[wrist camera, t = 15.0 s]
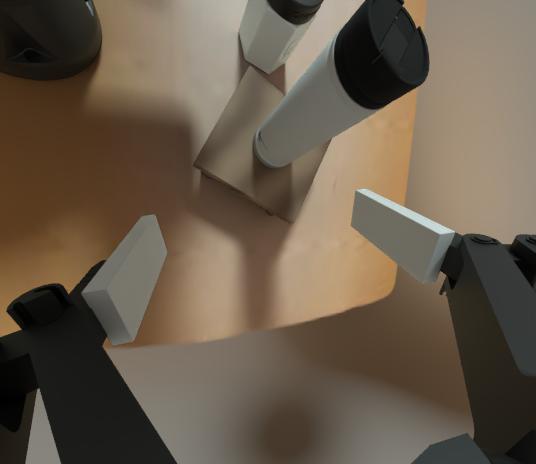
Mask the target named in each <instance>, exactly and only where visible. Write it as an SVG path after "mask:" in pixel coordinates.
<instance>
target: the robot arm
mask: <svg viewBox="0 0 536 464" xmlns="http://www.w3.org/2000/svg"><path fill="white" fill-rule="evenodd" d="M101 38H102V32H101V25H100V20H99V17H98V14H97V11H96V9H95V6H94V3H93V0H0V71H1V72H4V73H7V74H10V75H13V76H17V77H22V78H27V79H35V80H54V79H61V78H65V77H69V76H72V75H74V74H77V73H79V72H80V71H82V70H84V69H85V68H86V67H88V66H89V65H90V64H91V63H92V61H93V60H94V59H95V57H96V56H97V54H98V51H99V49H100V45H101ZM351 226H352V227H353V228H354V229H355V230H357V231H358V232H359V233H360V234H361V235H363V236H364V237H365V238H366V239H368V240H369V241H370V242H371V243H373V244H374V245H375V246H376V247H377V248H379V249H380V250H381V251H382V252H384V253H385V254H386V255H387V256H389V257H390V258H391V259H392V260H393V261H395V262H396V263H397V264H398V265H400V266H401V267H402V268H403V269H405V270H406V271H407V272H408V273H409V274H411V275H412V276H413V277H414V278H416V279H417V280H418V281H420V282H421V283H422V284H425V283H429V282H435V281H436V280H437V277H438V275H439V272H440V271H441V272H443V273H444V274H446V278H445V280H444V283H443V285H442V288H441V290H440V293H439V294H440V295H442V293H443V292H445V291H446V296H447V298H448V303H449V308H450V313H451V317H452V322H453V327H454V332H455V336H456V341H457V346H458V351H459V355H460V360H461V365H462V369H463V374H464V379H465V384H466V388H467V393H468V398H469V403H470V408H471V412H472V417H473V422H474V438H473V440H472V438H471V437H470V436H469V435H468V433H466V434H463V435H460V436H457V437H454V438H451V439H448V440H445V441H442V442H438V443H435V444H433V445H430V446H429V447H428V448H427V449H426V450H425V451H424V452H423V453H422V454H421V455H420V456H419V457H418V458H417V459H416V460H414V462H412V463H411V464H536V235H526V234H525V235H524V234H523V235H517V236H516V238H515V239H514V241H513V243H512V244H509V245H508V244H501V243H500V242H499V241H498V240H496V239H494V238H491V237H488V236H485V235H480V234H465V235H463V236H462V235H460V234H458V233H456V232H455V231H453V230H450V229H448V228H446V227H444V226H442V225H440V224H438V223H436V222H434V221H432V220H430V219H428V218H425V217H423V216H421V215H419V214H417V213H415V212H413V211H411V210H409V209H407V208H405V207H403V206H400V205H398V204H396V203H394V202H392V201H390V200H388V199H386V198H384V197H382V196H380V195H378V194H375V193H373V192H371V191H369V190H367V189H361V190H356V191H355V199H354V206H353V213H352V220H351ZM167 253H168V252H167V249H166V246H165V243H164V240H163V237H162V234H161V231H160V228H159V224H158V221H157V218H156V215H155V214H154V215H146V216H141V218H140V219H139V220H138V221H137V223H136V224H135V225H134V226H133V228H132V229H131V230H130V232H129V233H128V234H127V235H126V237H125V238H124V239H123V240H122V242H121V243H120V244H119V246H118V247H117V248H116V249H115V251H114V252H113V253H112V254H111V256H110V257H109V258H108V260H103V261H101V262H99V263H98V264H96V265H95V266H93V267H92V268H91V269H90V270H89V271H88V273H87V274H86V275H85V277H83V278H82V280H81V281H80V283H78V284H77V285H76V287H75V288H74V289H73V290H72V291H71V293H70V294H68V293H67V291H66V289H65V288H64V286H63V285H61V284H48V285H43V286H40V287H38V288H35V289H32V290H30V291H28V292H26V293H24V294H22V295H21V296H19V297H18V298H16V299H15V300H14V301H13V302H12V303H11V304H10V305H9V306H8V308H7V311H6V312H7V313H8V314H9V315H10V316H11V317H12V318H13V320H14V321H15V322H16V323H17V324H18V325H19V327H20V328H21V329H22V330H19V331H17V332H14V333H11V334H8V335H5V336H3V337H0V464H25V461H26V455H27V449H28V443H29V436H30V430H31V424H32V418H33V412H34V406H35V399H36V393H37V389H38V388H40V392H41V395H42V399H43V402H44V406H45V409H46V413H47V416H48V420H49V423H50V426H51V430H52V433H53V437H54V440H55V444H56V447H57V451H58V454H59V458H60V461H61V464H177V462H176V461H175V459H174V458H173V456H172V455H171V453H170V451H169V450H168V448H167V447H166V445H165V444H164V442H163V440H162V439H161V437H160V436H159V434H158V433H157V431H156V430H155V428H154V426H153V425H152V423H151V422H150V420H149V419H148V417H147V416H146V414H145V412H144V411H143V409H142V408H141V406H140V405H139V403H138V402H137V400H136V398H135V397H134V395H133V394H132V392H131V391H130V389H129V387H128V386H127V384H126V383H125V381H124V380H123V378H122V376H121V375H120V373H119V372H118V370H117V369H116V367H115V366H114V364H113V362H112V361H111V359H110V358H109V356H108V355H107V353H106V351H105V350H104V348H103V347H102V345H103V343H104V341H105V339H106V337H108V339H109V340H110V342H111V344H112V345H113V346H115V345H120V344H125V343H130V342H134V340H135V337H136V335H137V332H138V329H139V327H140V324H141V322H142V319H143V316H144V314H145V311H146V308H147V306H148V303H149V300H150V298H151V295H152V293H153V290H154V287H155V285H156V282H157V279H158V277H159V274H160V271H161V269H162V266H163V263H164V261H165V258H166V256H167Z"/></svg>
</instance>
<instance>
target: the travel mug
mask: <svg viewBox="0 0 536 464" xmlns="http://www.w3.org/2000/svg"><path fill="white" fill-rule="evenodd" d="M403 4H404V1H403V0H365V1H364V3H363V4H362V5H361V6H360V8H359V9H358V10H357V11H356V12H355V14H354V15H353V16H352V17H351V18H350V20H349V21H348V22H347V23H346V24H345V26H343V27H342V28H341V29H340V30H339V32H338V33H337V34H336V35H335V37H334V38H333V39H332V40H331V41H330V42H329V44H328V45H327V46H326V47H325V49H324V50H323V51H322V52H321V53H320V55H319V56H318V57H317V58H316V59H315V61H314V62H313V63H312V64H311V66H310V67H309V68H308V69H307V70H306V72H305V73H304V74H303V75H302V76H301V78H300V79H299V80H298V81H297V83H296V84H295V85H294V86H293V87H292V89H291V90H290V91H289V92H288V93H287V95H286V96H285V97H284V98H283V100H282V101H281V102H280V103H279V104H278V106H277V107H276V108H275V109H274V110H273V112H272V113H271V114H270V115H269V117H268V118H267V119H266V120H265V121H264V123H263V124H262V125H261V126H260V127H259V129H258V130H257V131H256V133H255V135H254V138H253V148H254V152H255V154H256V156H257V158H258V159H259V160H260V161H261V162H262V163H263V164H264V165H266V166H267V167H270V168H282V167H284V166H286V165H287V164H289V163H291V162H292V161H294V160H296V159H298V158H299V157H301V156H303V155H304V154H306V153H308V152H309V151H311V150H313V149H314V148H316V147H318V146H320V145H321V144H323V143H325V142H326V141H328V140H330V139H331V138H333V137H335V136H337V135H338V134H340V133H342V132H343V131H345V130H347V129H348V128H350V127H352V126H354V125H355V124H357V123H359V122H360V121H362V120H364V119H365V118H367V117H369V116H370V115H372V114H374V113H375V112H377V111H379V110H381V109H382V108H384V107H385V106H386V105H388V104H389V103H391V102H392V101H394V100H396V99H398V98H399V97H401V96H403V95H405V94H406V93H408V92H410V91H411V90H413V89H415V88H416V87H418V86H420V85H421V84H422V83H423V82H424V81H425V79H426V77H427V75H428V71H429V53H428V47H427V44H426V39H425V36H424V34H423V32H422V30H421V27H420V26H419V27H418V28H417V29H416V26H415V23H414V21H413V20H412V18H411V16H410V14H409V13H408V12H407V10H406V9H405V8H404V7H403V6H402V5H403Z"/></svg>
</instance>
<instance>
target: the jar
mask: <svg viewBox="0 0 536 464" xmlns="http://www.w3.org/2000/svg"><path fill="white" fill-rule="evenodd" d="M322 2H323V0H248V3H247V6H246V9H245V12H244V15H243V18H242V21H241V24H240V27H239V34H240V39H241V44H242V49H243V54H244V58H245V60H247V61H248V62H250V63H251V64H253V65H254V66H256V67H258V68H259V69H261V70H262V71H264V72H265V73H267V74H270V73H272V72H273V71H274V70H276V69H277V68H279V67H280V66H281V65H283V64H284V63H286V61H287V60H288V58H289V57H290V55H291V54H292V52H293V51H294V49H295V48H296V46H297V45H298V43H299V42H300V40H301V38H302V37H303V35H304V34H305V32H306V31H307V29H308V28H309V26H310V25H311V23H312V22H313V20H314V19H315V17H316V12H317V11H318V9H319V8H320V5H321V4H322Z"/></svg>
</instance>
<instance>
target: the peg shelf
mask: <svg viewBox="0 0 536 464" xmlns="http://www.w3.org/2000/svg"><path fill="white" fill-rule="evenodd" d="M284 97H285V95H284V94H283V93H282V92H280V91H279V90H278V89H277V88H276V87H275V86H273V85H272V84H271V83H270V82H269V81H268V80H266V79H265V78H264V77H263V76H262V75H261V74H259V73H258V72H257V71H256V70H255V69H254V68H252V67H251V66H249V68H248V69H247V71H246V73H245V75H244V76H243V78H242V80H241V82H240V83H239V85H238V87H237V89H236V90H235V92H234V94H233V96H232V97H231V99H230V101H229V103H228V104H227V106H226V108H225V110H224V111H223V113H222V115H221V116H220V118H219V120H218V122H217V123H216V125H215V127H214V129H213V130H212V132H211V134H210V136H209V137H208V139H207V141H206V143H205V144H204V146H203V148H202V150H201V151H200V153H199V155H198V156H197V158H196V160H195V162H194V164H193V166H194V167H196V168H197V169H199V170H201V172H202V174H203V175H204V176H205V177H207V178H214V179H216V180H217V181H219V182H221V183H222V184H224V185H226V186H227V187H229V188H231V189H232V190H234V191H236V192H237V193H239V194H241V195H242V196H244V197H246V198H247V199H249V200H251V201H252V202H254V203H256V204H257V205H259V206H261V207H262V208H264V209H266V212H267V213H268V214H269V215H276V216H278V217H279V218H281V219H283V220H284V221H286V222H288V223H294V221H295V219H296V217H297V215H298V212H299V210H300V208H301V206H302V204H303V201H304V199H305V197H306V195H307V193H308V190H309V188H310V186H311V184H312V181H313V179H314V177H315V175H316V173H317V170H318V168H319V166H320V164H321V162H322V159H323V157H324V155H325V153H326V151H327V148H328V146H329V144H330V142H331V139H332V138H331V139H330V140H328V141H326V142H325V143H323V144H321V145H320V146H318V147H316V148H314V149H313V150H311V151H309V152H308V153H306V154H304V155H303V156H301V157H299V158H298V159H296V160H294V161H292V162H291V163H289V164H287V165H286V166H284V167H282V168H270V167H267V166H266V165H264V164H263V163H262V162H261V161H260V160H259V159H258V158H257V156H256V154H255V152H254V148H253V138H254V135H255V133H256V131H257V130H258V129H259V127H260V126H261V125H262V124H263V123H264V121H265V120H266V119H267V118H268V117H269V115H270V114H271V113H272V112H273V110H274V109H275V108H276V107H277V106H278V104H279V103H280V102H281V101H282V100H283V98H284Z"/></svg>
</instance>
